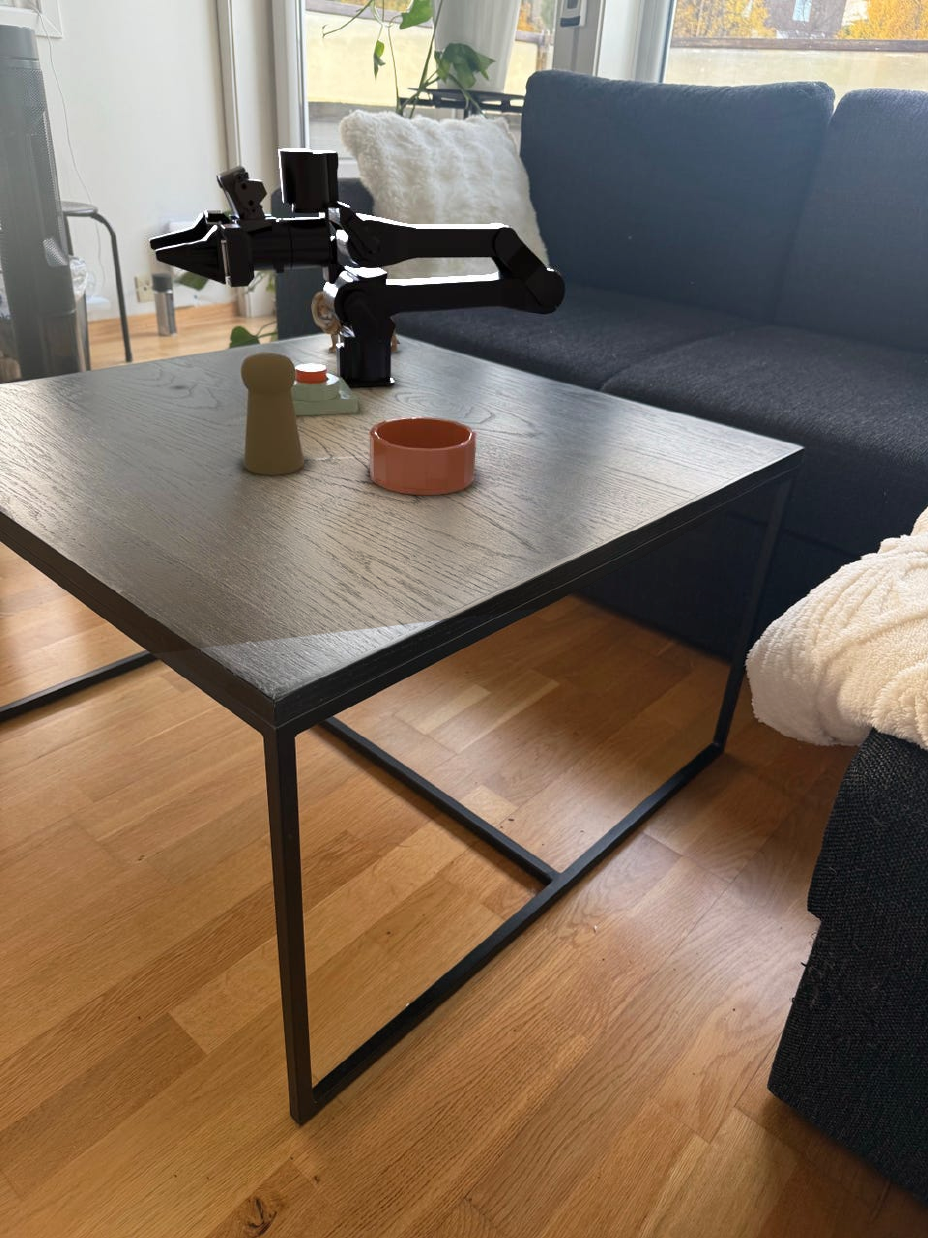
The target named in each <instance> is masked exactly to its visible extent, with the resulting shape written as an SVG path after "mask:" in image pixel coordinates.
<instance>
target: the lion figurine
mask: <svg viewBox="0 0 928 1238" xmlns="http://www.w3.org/2000/svg"><path fill="white" fill-rule="evenodd" d="M323 291H324V290H321V291H319V292H317V293H316V294H315V295H314V297H312V302H311V306H310V307H311V308H310V309H311V312H312V318H313V321H314V323H315V324H316V325H317V326H318V327H319V328H320V329H321V330H322V332H323V333H325V334H326V335H330V339H331V345H332V346H330V347H328V352H330V353H336V345H337V343H339V338H340V331H346V330H345V329H344V328H342V327H341V326H340V324H339V321H338V318H337V317H335V316H334V315H333V314H332V313H331V312H330V311H329V310H328V309H327V307H326V305H325V303H324V299H323ZM391 320H392V321H393V322H394V323H395V321H394V317H392V318H391ZM398 345H401V342H400V341H399V340H398V338H397V333H396V329H395V330H394V333H393V336H392V339H391V353H392V352H394V353H395V352H397V350H398Z"/></svg>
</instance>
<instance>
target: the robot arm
mask: <svg viewBox="0 0 928 1238" xmlns="http://www.w3.org/2000/svg"><path fill="white" fill-rule="evenodd" d="M278 157H279V169H280V170H279V171H280V181H281V182H280V183H281V192H282V202H283V203H286V204H288V206H291V211H292V212H291V213H294V214H319V215H318V216H319V217H295V218H293V217H292V218H277V217H274V216H273V215H272V214H271V213H265V212H264V206H263V204H262V202H263V201H264V200H265V198H266V197H267V195H268V192H267V190H266V188H265V185H264V182H263V181H262V180H261V179H256V178H255V179H254V178H250V176H249V175H250V174H249V172H248V171H247V169H246V168H245V167H244V166H242V165H237V166H235V167H233V168H230V169H228V170H226V171H223V172H221V173H219V174H216V175H215V179H216V182H217V184H218V186H219V188H220V189H222V191H223V193H224V196H225V197H226V200H227V202H228V204H229V206H230V209H231V211H232V213H233V214H229V216H227V214H225V213H224V212H223V211H222V210H220V209H219V210H217V209H216V210H204V212H201V213H200V214H199V216H198V218H197V219H196V221H195V222H194V223H193V225H192V226H191V227H188V228H184V229H181V230H177V231H174V232H170V233H167V234H163V235H159V236H156V237H152V238H150V239H149V246H150V249H151V250H153V251H155V259H156V261H157V262H159V263H162V264H165V265H168V266H171V267H174V268H177V269H180V270H183V271H186V272H188V273H191V274H194V275H197V276H200V277H203V278H205V279H208V280H211V281H213V282H217V283H219V284H221V285H225V286H226V285H227V284H228V285H229V287H230V288H245V287H246V288H247V287H249V285H250V284H251V283H252V282H253V281H254V279H256V278H255V277H256V276H255V272H265V271H266V272H267V271H273V272H274V273H275V274H285V270H287V271H288V270H305V269H306V270H307V269H308V270H309V269H322V277H323V280H324V281H326V283H325V285H324V287H323V290H322V291H323V299H324V303H325V305H326V307H327V309H328V310H329V311H330V312H331V313H332V314H333V315H334V316H335V317H337V318H338V321H339V324H340V326H341V327H342V328H344V329H345V330H346V331H340V336H339V341H340V342H338V343H337V345H336V351H335V360H336V362H335V363H336V365H335V366H336V376H337V377H342V378H343V380H344V381H345V383H346V384H347V385H348V387H349V388H355V387H356V388H357V387H358V388H359V387H360V388H361V387H385V386H394V385H395V380H394V379H393V378H392V351H391V346H392V342H391V339H392V336H393V333H394V330H395V331H396V327H397V324H396V322H395V321H394V320H393V321H394V322H393V321H392V320H391V318H394V317H396V316H399V315H401V314H412V313H425V312H426V313H427V312H443V311H455V310H469V309H470V310H471V309H486V308H504V309H508V310H512V311H513V310H514V311H517V312H522V313H530V314H538V315H550V314H553V313H554V312H556V311H558V308H559V307H560V306H561V304H562V302H563V300H564V298H565V294H566V284H565V281H564V278H563V277H562V276H561V274H560V273H559V272H558V271H555V270H553V269H552V268H551V269H550V268H548V267H547V266H546V264H545V263H544V262H543V261H542V260H541V259H540V258H539V256H537V255H536V253H534V252H533V251H532V249H530V248H529V246H527V244H525V243H524V241H523V240H522V238H521V237H520V236H519V235H518V233H517V231H516V230H515V229H514V228H512V226H508V225H504V224H502V223H497V222H494V223H490V224H409V223H403V222H398V221H394V220H390V219H386V218H382V217H376V216H372V215H367V214H363V213H355V212H354V211H353V210H352V209H350V208H351V207H350V206H349V205H347V204H345V203H342V202H340V196H339V195H340V193H339V176H338V173H339V172H338V171H339V165H340V164H339V153H338V152H337V151H333V150H311V149H307V148H281V149H280V148H279V149H278ZM331 227H332V228H333V230H334V232H335V234H336V237H335V236H333V235H332V233H331V232H332V231H331ZM338 250H339V251H338ZM339 252H340V254H341V255H343V257H344V258H345V259H347V260H348V261H350V262H351V263H353V264H355V265H356V266H358V267H360V268H353V267H349V266H347V265H346V266H343V265H342V264H341V263H340V262H339ZM455 258H456V259H457V258H461V259H465V258H467V259H468V258H469V259H470V258H471V259H472V258H475V259H476V258H490V259H492V262H493V264H494V265H495V267H496V269H497V272H494V273H492V274H485V275H481V274H480V275H467V276H466V275H465V276H464V275H463V276H448V277H447V276H446V277H445V276H444V277H430V278H429V277H428V278H409V279H390V278H389V279H388V275H389V273H388V272H386V271H385V270H383V269H381V268H385V267H390V266H395V265H398V264H400V263H404V262H406V261H409V260H414V259H455Z"/></svg>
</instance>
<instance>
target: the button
mask: <svg viewBox="0 0 928 1238" xmlns="http://www.w3.org/2000/svg"><path fill="white" fill-rule="evenodd" d="M295 370H296V381H297V382H300V383H307V384H316V383H323V382H327V378H326V373H327V367H326V366H325V365H323V364H317V363H304V364H298V365H297V366H295Z"/></svg>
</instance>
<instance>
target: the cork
mask: <svg viewBox="0 0 928 1238" xmlns="http://www.w3.org/2000/svg"><path fill="white" fill-rule="evenodd" d="M240 377H241V381H242V383H243V385H244V386H245V388H246V389H247V403H246V418H245V419H246V420H245V436H244V437H245V438H244V454H243V467H244V469H246V470H247V471H249V472H252V473H254V474H258V475H267V476H268V475H269V476H271V475H272V476H276V475H286V474H291V473H294V472H297V471H299V470H301V469H303V468H304V466H305V460H304V454H303V450H302V444H301V440H300V433H299V427H298V421H297V415H295V411H294V405H293V400H292V394H291V388H292V386H293V384H294V383H295V378H296V366H295V364H294V363H293V361H292V359H291V358H290V357H289V356H287V355H285V354H282V353H277V352H259V353H253V354H250V355H248V356H246V357H245V358H244V359H243V361H242V362H241V365H240Z"/></svg>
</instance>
